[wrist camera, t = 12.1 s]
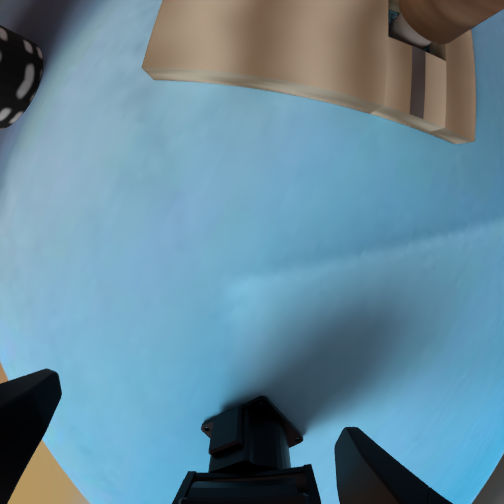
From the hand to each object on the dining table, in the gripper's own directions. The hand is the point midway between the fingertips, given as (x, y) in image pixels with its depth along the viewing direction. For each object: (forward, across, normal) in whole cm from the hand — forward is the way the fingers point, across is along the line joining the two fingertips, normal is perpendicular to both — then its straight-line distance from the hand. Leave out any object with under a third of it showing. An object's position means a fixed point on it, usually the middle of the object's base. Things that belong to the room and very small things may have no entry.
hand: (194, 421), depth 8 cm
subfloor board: (+13, -4, -20) cm, 25 cm away
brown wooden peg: (+13, -10, -20) cm, 26 cm away
